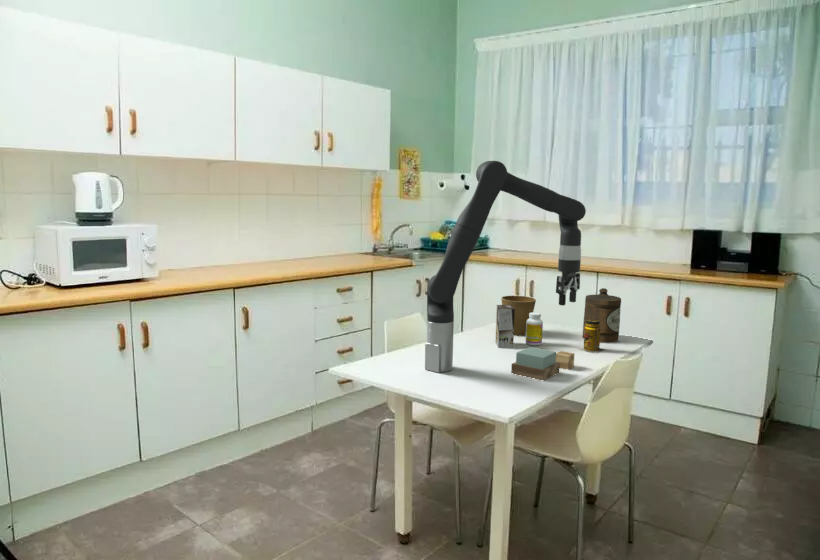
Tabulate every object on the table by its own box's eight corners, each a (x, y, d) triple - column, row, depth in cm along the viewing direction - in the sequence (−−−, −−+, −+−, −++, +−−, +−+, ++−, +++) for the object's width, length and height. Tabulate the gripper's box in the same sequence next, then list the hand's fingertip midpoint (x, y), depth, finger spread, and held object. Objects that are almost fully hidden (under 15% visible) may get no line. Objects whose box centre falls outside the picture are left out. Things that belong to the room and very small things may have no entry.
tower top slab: (542, 369, 198) (543, 357, 198) (516, 363, 204) (516, 352, 204) (555, 363, 206) (556, 351, 206) (529, 357, 212) (529, 346, 212)
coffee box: (513, 348, 239) (515, 308, 236) (497, 347, 239) (499, 308, 237) (510, 342, 248) (512, 304, 245) (495, 342, 248) (496, 304, 246)
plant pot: (503, 337, 256) (504, 301, 253) (497, 329, 270) (499, 295, 268) (537, 338, 256) (539, 301, 253) (530, 330, 271) (531, 295, 268)
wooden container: (617, 344, 247) (620, 292, 244) (580, 340, 253) (583, 289, 249) (619, 336, 260) (623, 287, 257) (584, 333, 266) (587, 284, 263)
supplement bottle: (542, 346, 242) (543, 315, 240) (525, 345, 243) (527, 314, 241) (541, 342, 249) (542, 312, 247) (525, 341, 250) (526, 311, 248)
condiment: (579, 349, 238) (580, 320, 236) (590, 346, 244) (591, 317, 242) (595, 353, 233) (597, 323, 231) (606, 349, 238) (608, 320, 237)
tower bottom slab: (542, 382, 198) (543, 370, 197) (511, 375, 205) (511, 363, 205) (559, 374, 207) (559, 363, 206) (528, 367, 214) (528, 356, 214)
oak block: (567, 370, 211) (568, 356, 210) (554, 367, 214) (555, 353, 213) (573, 366, 214) (574, 353, 214) (560, 364, 217) (561, 350, 217)
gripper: (570, 260, 201) (568, 307, 203) (588, 257, 211) (585, 302, 214) (550, 258, 205) (548, 305, 208) (568, 255, 216) (566, 299, 219)
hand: (567, 303), depth 211 cm, fingers open, 8 cm apart
